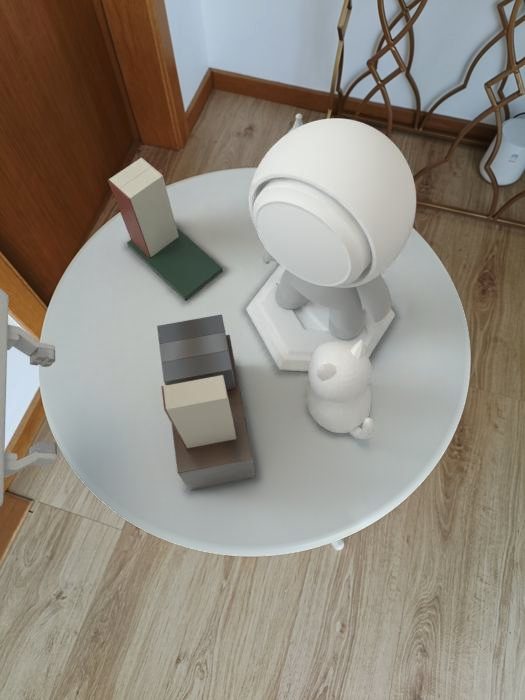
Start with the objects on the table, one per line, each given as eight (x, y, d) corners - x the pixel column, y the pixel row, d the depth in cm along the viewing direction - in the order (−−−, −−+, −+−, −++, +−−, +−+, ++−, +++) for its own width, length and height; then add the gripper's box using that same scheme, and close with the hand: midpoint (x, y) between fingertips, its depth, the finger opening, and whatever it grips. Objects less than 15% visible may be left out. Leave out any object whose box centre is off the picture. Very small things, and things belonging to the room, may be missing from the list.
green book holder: (185, 301, 85) (168, 242, 71) (127, 246, 90) (101, 182, 76) (223, 271, 87) (213, 209, 74) (164, 219, 92) (145, 152, 78)
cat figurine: (338, 361, 80) (351, 311, 66) (392, 428, 75) (418, 389, 61) (288, 393, 78) (291, 347, 64) (340, 464, 73) (355, 431, 59)
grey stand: (189, 490, 72) (168, 460, 57) (174, 376, 79) (152, 324, 65) (255, 477, 72) (250, 444, 58) (234, 365, 80) (225, 311, 65)
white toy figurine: (225, 337, 82) (193, 168, 50) (304, 235, 90) (319, 34, 58) (338, 405, 77) (382, 264, 45) (411, 290, 85) (492, 102, 53)
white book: (185, 448, 64) (164, 409, 51) (183, 429, 65) (161, 386, 53) (236, 439, 64) (227, 398, 52) (233, 419, 66) (223, 374, 53)
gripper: (-144, 517, 32) (73, 512, 42) (-106, 246, 41) (67, 292, 50) (-166, 539, 36) (38, 530, 45) (-126, 287, 45) (38, 323, 54)
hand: (53, 403), depth 48 cm, fingers open, 8 cm apart
